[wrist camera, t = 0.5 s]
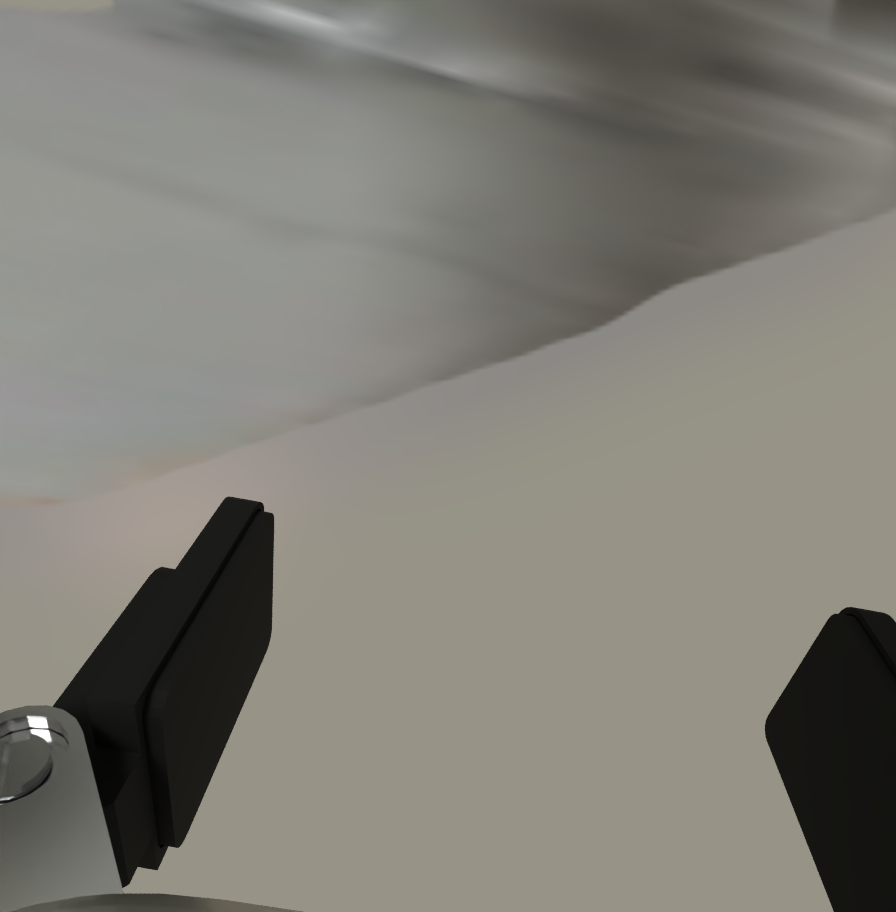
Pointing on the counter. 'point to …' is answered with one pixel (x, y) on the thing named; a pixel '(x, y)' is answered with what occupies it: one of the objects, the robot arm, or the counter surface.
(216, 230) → the counter surface
